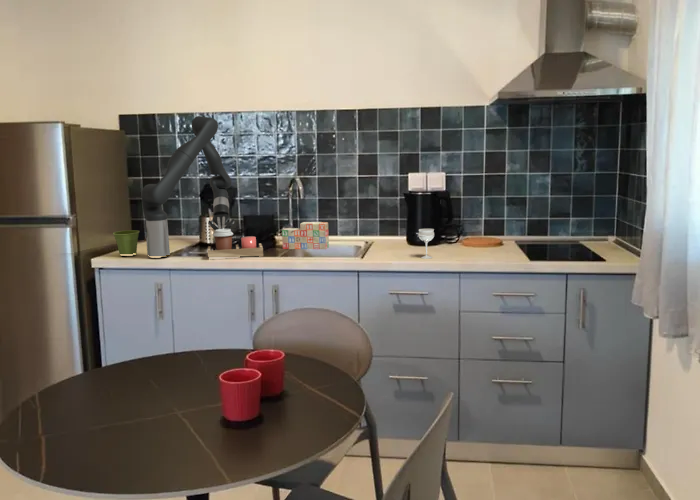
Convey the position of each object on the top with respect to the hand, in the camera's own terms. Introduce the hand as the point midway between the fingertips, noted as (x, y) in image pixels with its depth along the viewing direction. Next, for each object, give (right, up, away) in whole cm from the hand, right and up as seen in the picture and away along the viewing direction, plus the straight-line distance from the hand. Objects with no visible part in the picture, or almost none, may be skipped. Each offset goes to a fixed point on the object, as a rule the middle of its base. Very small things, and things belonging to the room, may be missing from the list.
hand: (221, 237), depth 313 cm
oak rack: (+9, -9, -15) cm, 20 cm away
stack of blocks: (+40, -6, 0) cm, 40 cm away
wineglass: (+93, -10, -33) cm, 100 cm away
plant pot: (-42, -9, -7) cm, 44 cm away
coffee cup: (+4, -9, -15) cm, 18 cm away
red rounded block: (+15, -8, -14) cm, 22 cm away
